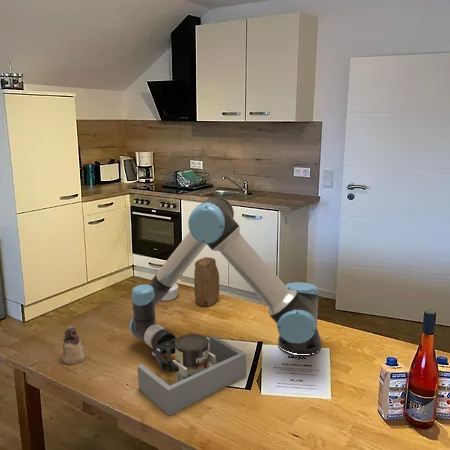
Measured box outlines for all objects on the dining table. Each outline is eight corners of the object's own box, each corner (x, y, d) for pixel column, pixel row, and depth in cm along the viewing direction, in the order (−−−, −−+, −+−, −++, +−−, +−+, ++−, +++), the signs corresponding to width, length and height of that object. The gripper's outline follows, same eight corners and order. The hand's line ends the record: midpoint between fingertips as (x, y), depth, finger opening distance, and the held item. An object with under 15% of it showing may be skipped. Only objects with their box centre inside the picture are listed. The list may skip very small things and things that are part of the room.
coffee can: (216, 379, 144) (215, 338, 141) (196, 396, 136) (195, 353, 132) (189, 370, 150) (188, 330, 146) (169, 386, 141) (167, 344, 138)
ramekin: (177, 302, 203) (176, 290, 201) (152, 302, 203) (151, 291, 202) (180, 292, 214) (179, 281, 212) (156, 292, 214) (155, 281, 212)
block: (206, 308, 195) (205, 264, 190) (192, 304, 200) (191, 260, 195) (222, 300, 204) (221, 257, 199) (209, 296, 208) (208, 254, 203)
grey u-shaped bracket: (138, 389, 140) (137, 365, 138) (213, 356, 158) (212, 334, 156) (169, 415, 127) (168, 390, 125) (245, 376, 146) (245, 353, 144)
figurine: (79, 351, 162) (75, 320, 159) (89, 359, 157) (86, 326, 154) (59, 359, 157) (56, 327, 154) (69, 367, 152) (65, 334, 149)
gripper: (187, 338, 162) (229, 364, 146) (131, 361, 148) (169, 392, 132) (187, 319, 160) (229, 342, 144) (129, 340, 146) (168, 369, 130)
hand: (200, 366), depth 138 cm, fingers closed on coffee can, 10 cm apart
